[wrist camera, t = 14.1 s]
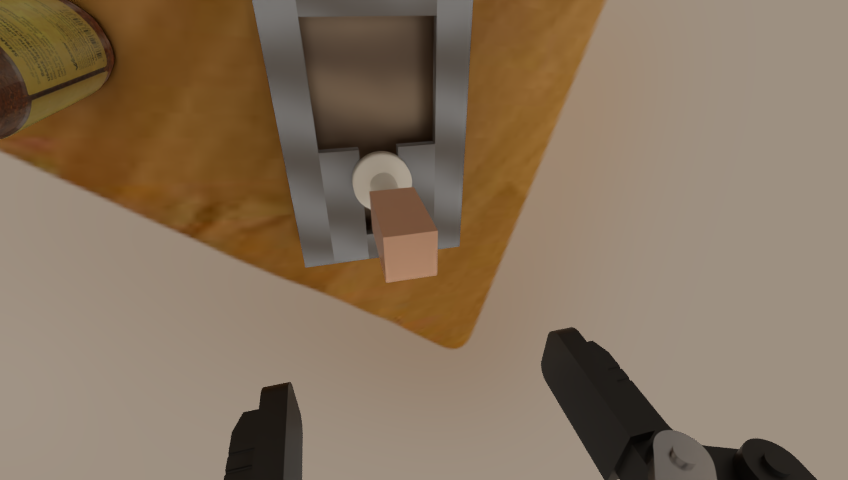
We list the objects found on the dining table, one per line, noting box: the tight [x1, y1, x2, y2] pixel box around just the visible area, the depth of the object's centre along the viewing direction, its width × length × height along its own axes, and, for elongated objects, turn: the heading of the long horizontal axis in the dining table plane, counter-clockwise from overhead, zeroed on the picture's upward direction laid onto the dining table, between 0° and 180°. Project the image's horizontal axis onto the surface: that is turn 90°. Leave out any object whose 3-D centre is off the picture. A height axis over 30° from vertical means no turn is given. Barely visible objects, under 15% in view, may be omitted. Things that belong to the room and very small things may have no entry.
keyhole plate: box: [252, 0, 473, 267], centre depth 32 cm, size 20×14×5 cm
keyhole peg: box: [352, 151, 438, 283], centre depth 26 cm, size 5×5×12 cm
